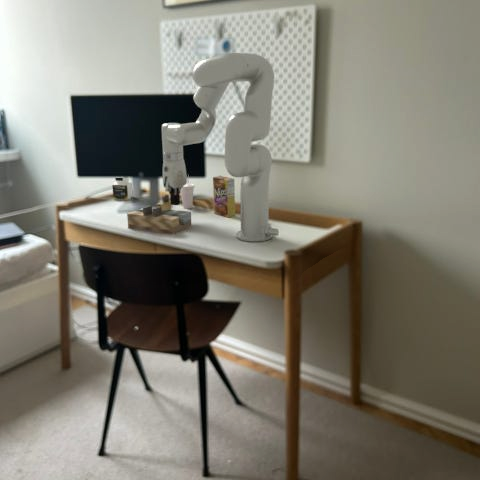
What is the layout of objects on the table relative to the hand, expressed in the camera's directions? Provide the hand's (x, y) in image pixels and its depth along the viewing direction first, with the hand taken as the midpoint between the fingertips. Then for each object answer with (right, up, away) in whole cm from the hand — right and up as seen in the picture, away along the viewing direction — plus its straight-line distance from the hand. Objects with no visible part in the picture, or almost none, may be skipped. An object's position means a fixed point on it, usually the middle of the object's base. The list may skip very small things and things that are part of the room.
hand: (175, 204), depth 199 cm
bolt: (-4, -3, -6) cm, 8 cm away
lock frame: (-5, -9, -7) cm, 12 cm away
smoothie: (+3, 0, +21) cm, 21 cm away
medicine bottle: (-29, +5, +40) cm, 50 cm away
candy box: (+19, -4, +9) cm, 21 cm away
